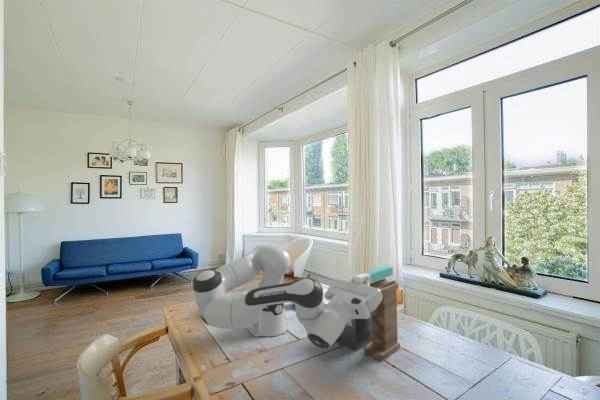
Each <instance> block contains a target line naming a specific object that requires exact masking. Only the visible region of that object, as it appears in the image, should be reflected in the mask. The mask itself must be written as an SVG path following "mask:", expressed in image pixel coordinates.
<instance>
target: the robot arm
mask: <svg viewBox="0 0 600 400" xmlns="http://www.w3.org/2000/svg"><path fill="white" fill-rule="evenodd" d="M291 260H292V259H291V256H290V254H289V253H288V252H287V251H285V250H284V249H282V248H280V247H276V246H272V245H271V246H270V245H267V244H262V245H258V246H255V247H254V249H253V250H252V251H249V253H247V254H245V255H244V256H242V257H240V258H238V259H235V260H232V261H230V262H228V263H226V264H224V265H221V266H220V267H218V268H216V269H206V270H203V271H200V272H199V273H197V274H196V275H195V276H194V277H193V279H192V289H193V293H194V294H193V295H194V298H195V299H194V300H195V304H196V306H197V308H198V311H199V313H200V318H201V320H202V321H203V323H204V324H205V325H207V326H209V327H214V328H218V329H229V330H234V329H235V330H240V329H241V330H242V329H247V330H248V331H249V332H250V333H251V334H252V336H253V337H275V336H276V337H277V336H280V335H282V334H284V333H285V332H286V331H287V329H288V328H287V326H288V325H289V324H288V321H287V316H286V309H285V307H284V306H285V305H284V304H287V303H291V304H292V305H294V304H295V305H294V308H295V315H296V318H297V320H298V322H299V323H300V324H301V326H302V327H304V329H305V332H306V335H307V339H308V341H310V343H311V344H313V345H314V346H315V347H318V348H320V349H328V348H330V347H331V346H332V345H334V343H336V342H335V341H336V340H337V339H338V337H339V336H340V335H341V333H342V332H343V331H344V328H345V325H346V324H347V323H348V322H350V320H351V319H368V318H369V317H370V312H372V311H374V310H375V309H376V308H377V307H378V305H379V304H380V302H381V301H382V299H383V296H382V293H381V291H380V289H378V288H374V287H370V283H371V281H372V280H371V278H368V277H366V279H365V282H366V284H364V285H362V284H358V283H354V277H353V278H351V279H349V280H346V279H341V278H334V279H333V280H332V281H331V283H330V284H329V286H328V288H327V289H326V291H325V292H324V289H323V285H322V284H321V283H320V281H318V280H317V279H315V278H312V277H309V278H307V277H301V278H298V279H296V280H294V281H289V282H285V283H283V282H284V277H285V274H286V271H287V270H288V269H290V266H291V264H292V263H291ZM260 272H263V273H262V277H261V280H260V281H259V282H258V287H257V288H254V289H251V290H249V291H247V293H242V294H243V295H231V296H226V294H227V293H228V292H229V291H232V290H234V289H238V287H241V286H243V285H245V284H247V283H249V282H251V281H253V280H254V279H255V276H257V275H258V274H259V273H260ZM357 275H358V274H356V275H355V276H357ZM324 298H325V300H327V301H328V302H329V303H325V302H324Z"/></svg>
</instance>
